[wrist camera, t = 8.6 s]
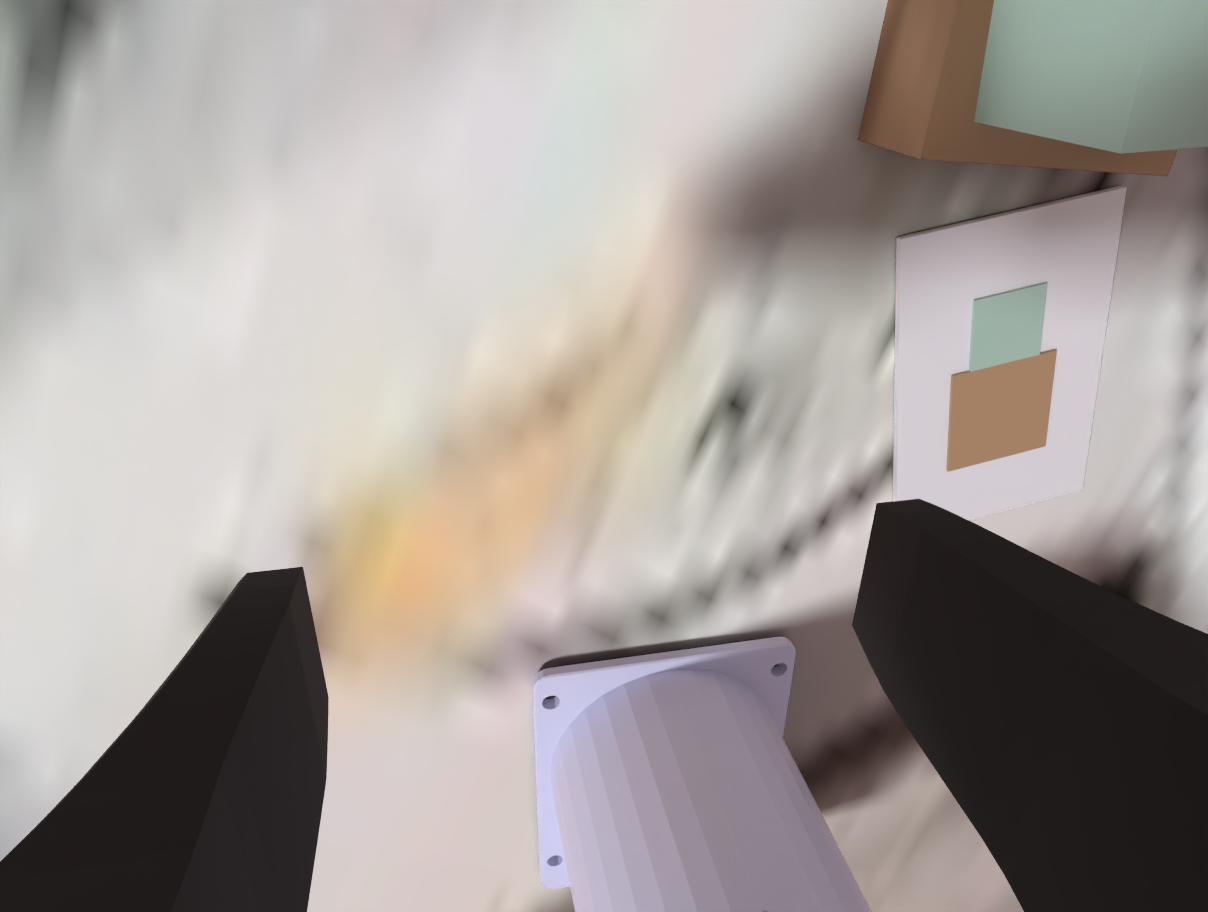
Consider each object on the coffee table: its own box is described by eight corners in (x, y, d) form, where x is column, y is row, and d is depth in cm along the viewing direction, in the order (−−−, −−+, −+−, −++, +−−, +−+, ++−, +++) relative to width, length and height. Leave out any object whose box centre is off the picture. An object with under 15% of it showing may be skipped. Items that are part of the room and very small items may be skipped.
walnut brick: (1072, 153, 21) (1167, 176, 18) (851, 137, 20) (919, 158, 17) (1168, -141, 18) (1295, -162, 16) (918, -183, 17) (1013, -215, 14)
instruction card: (1077, 486, 26) (1084, 491, 26) (892, 536, 25) (897, 541, 25) (1121, 185, 21) (1130, 188, 21) (896, 237, 21) (902, 240, 20)
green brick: (1149, 109, 18) (1332, 137, 14) (974, 121, 17) (1120, 153, 14) (1209, -124, 16) (1436, -158, 12) (1013, -121, 15) (1195, -156, 12)
